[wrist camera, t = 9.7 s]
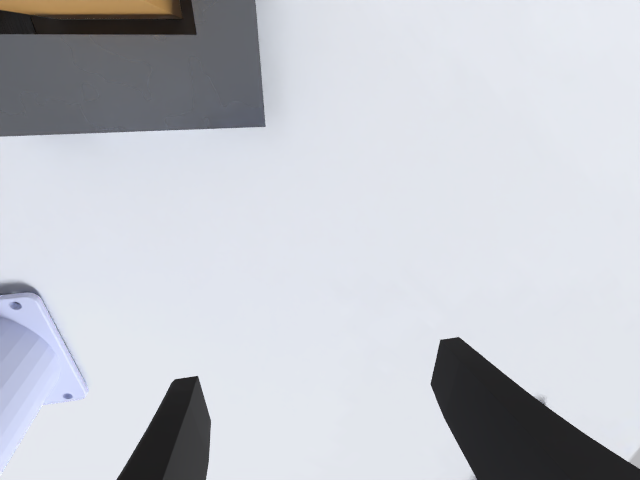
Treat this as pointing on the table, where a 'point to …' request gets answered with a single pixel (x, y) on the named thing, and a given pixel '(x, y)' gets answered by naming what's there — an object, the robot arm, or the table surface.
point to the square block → (96, 9)
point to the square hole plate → (133, 76)
